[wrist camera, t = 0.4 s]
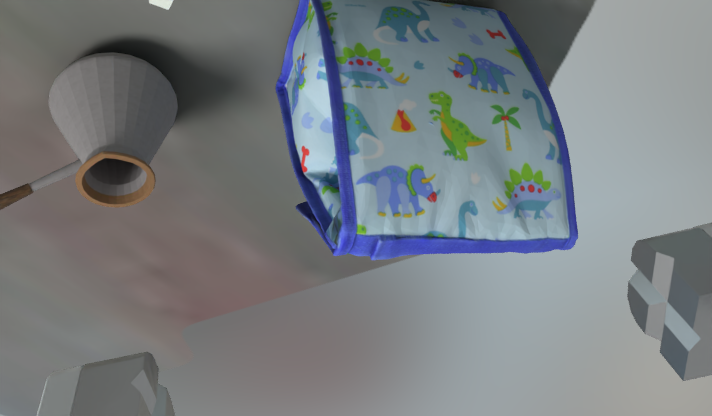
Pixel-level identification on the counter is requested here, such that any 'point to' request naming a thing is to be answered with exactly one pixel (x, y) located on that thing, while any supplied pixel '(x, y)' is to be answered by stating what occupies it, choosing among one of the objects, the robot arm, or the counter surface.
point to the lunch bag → (423, 131)
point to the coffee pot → (108, 127)
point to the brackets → (162, 3)
